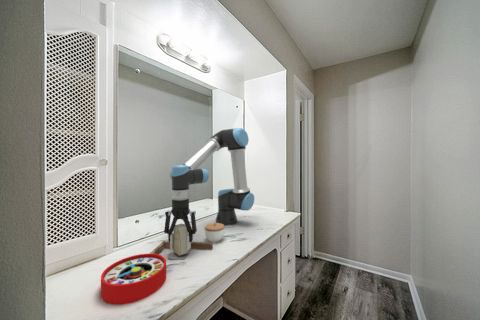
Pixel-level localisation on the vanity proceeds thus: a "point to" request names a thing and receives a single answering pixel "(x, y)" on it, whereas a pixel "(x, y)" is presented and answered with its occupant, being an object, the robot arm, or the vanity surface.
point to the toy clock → (133, 278)
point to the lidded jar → (214, 232)
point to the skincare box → (180, 239)
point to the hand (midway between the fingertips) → (180, 248)
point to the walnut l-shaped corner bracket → (182, 257)
